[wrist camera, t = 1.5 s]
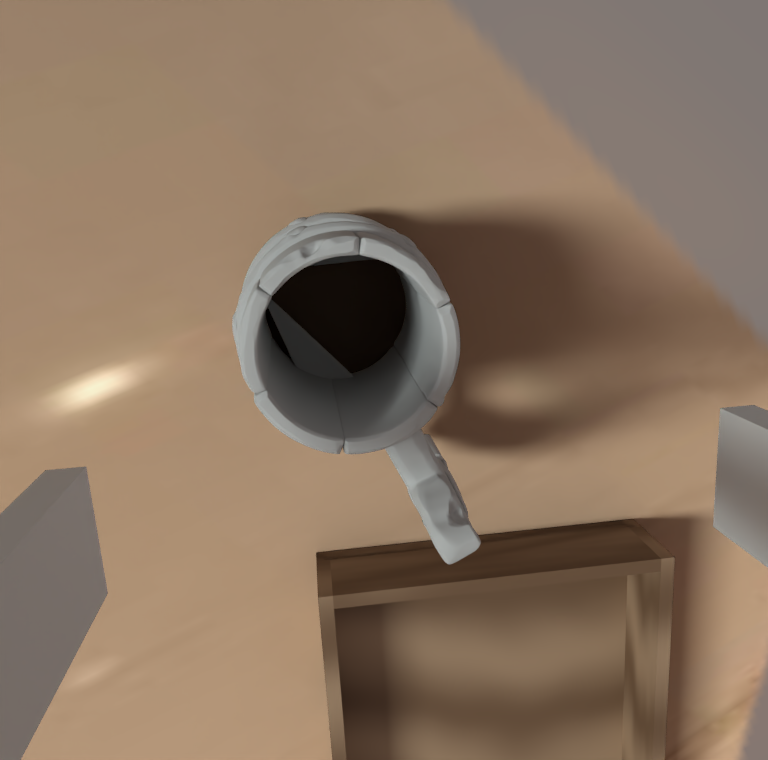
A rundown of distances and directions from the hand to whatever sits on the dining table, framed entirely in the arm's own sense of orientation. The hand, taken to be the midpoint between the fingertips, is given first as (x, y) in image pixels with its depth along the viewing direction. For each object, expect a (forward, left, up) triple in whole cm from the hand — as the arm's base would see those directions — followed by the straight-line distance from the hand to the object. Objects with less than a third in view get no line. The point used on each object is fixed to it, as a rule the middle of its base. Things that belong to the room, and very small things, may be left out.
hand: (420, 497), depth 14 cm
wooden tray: (+18, +5, -16) cm, 24 cm away
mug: (0, 0, -16) cm, 16 cm away
